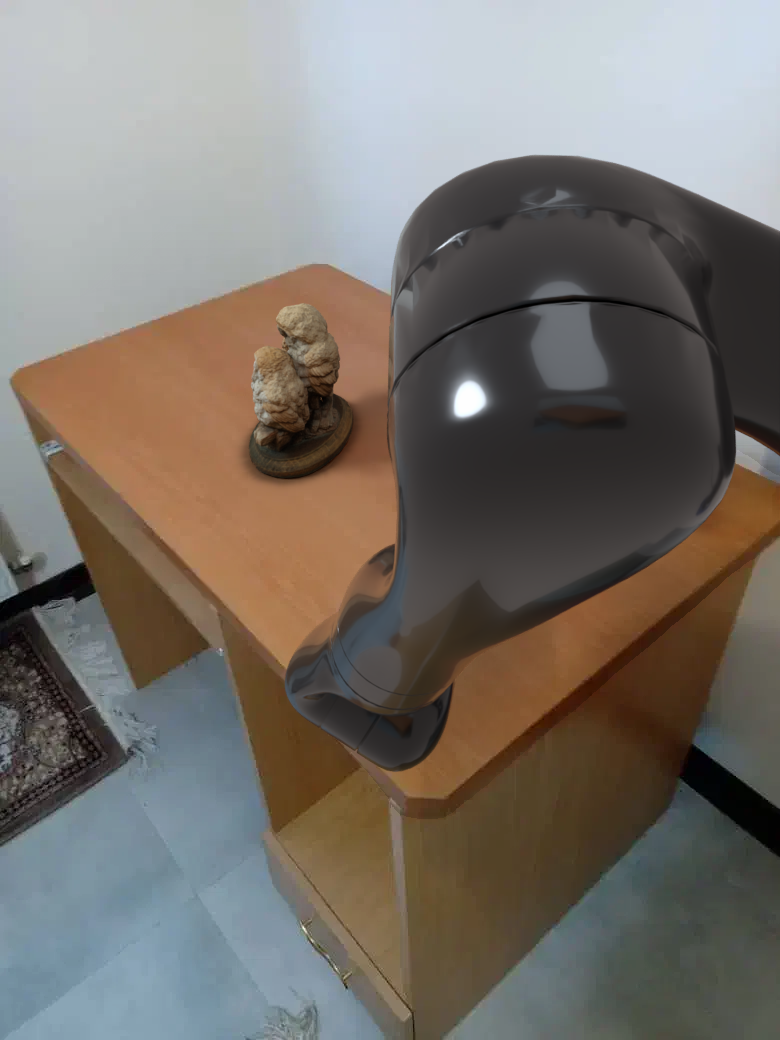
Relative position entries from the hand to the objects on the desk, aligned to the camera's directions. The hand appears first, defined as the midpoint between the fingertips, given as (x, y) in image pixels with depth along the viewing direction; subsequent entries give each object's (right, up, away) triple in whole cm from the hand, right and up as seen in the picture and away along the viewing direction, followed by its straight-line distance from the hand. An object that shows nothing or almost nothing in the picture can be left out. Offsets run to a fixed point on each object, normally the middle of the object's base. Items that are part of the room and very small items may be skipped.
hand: (538, 421), depth 71 cm
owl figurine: (-24, +1, +26) cm, 36 cm away
